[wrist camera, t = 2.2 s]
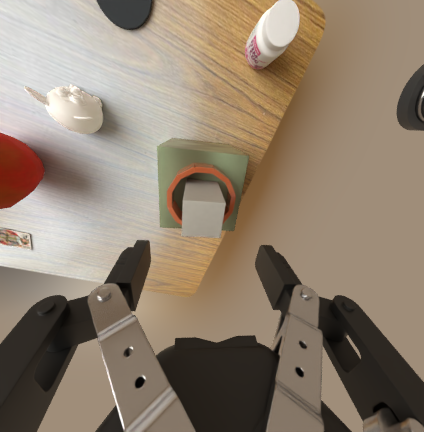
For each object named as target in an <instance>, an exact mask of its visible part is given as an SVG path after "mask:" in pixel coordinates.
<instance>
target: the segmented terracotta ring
mask: <svg viewBox="0 0 424 432" xmlns="http://www.w3.org/2000/svg"><path fill="white" fill-rule="evenodd" d="M195 172H198V173H210V174H214V175H215V176H216V177H218V178H219V179H220V180H222V181H223V182H225V184H226V187H227V189H228V192H227V199H226V206H225V212H224V218H223V223H224V222H225V221H226V220H227V219H228V217H229V216H230V215H231V214H232V213H233V210H234V205H235V199H236V194H235V192H234V189H233V187H232V184H231V182H230V180H229V178H228V176H227V175H226V174H225V173H224V172H223V171H221V170H220V169H218V168H217V167H216V166H214V165H212V164H205V163H193V164H190V165H188V166H186V167H184V168H182V169H180V170H179V171H178V172H177V173H176V175H175V177H174V178H173V180H172V181H171V183H170V185H169V187H168V189H167V208H168V210H169V212H170V213H171V215H172V216H173V218H174V220H175V221H177V223H179V224H180V225H182V211H181V210H180V208H179V207H178V205H177V203H176V202H175V200H174V189H175V187H176V186H177V184H178V183H179V181H180V180H181V179H182V178H184V177H187V176H189V175H191V174H193V173H195Z"/></svg>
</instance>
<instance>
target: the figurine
mask: <svg viewBox="0 0 424 432" xmlns="http://www.w3.org/2000/svg"><path fill="white" fill-rule="evenodd" d="M24 89H25V90H26V91H27V92H28V93H29V94H30V95H32V96H33V97H34V98H36V99H37V100H39V101H40V102H42V103H44V104H45V105H46V108H47V111H48V112H49V114H50V115H51V116H52V117H53V118H54V119H55V120H56V121H57V122H58V123H59V124H61V125H62V126H64V127H65V128H67V129H69V130H71V131H74V132H77V133H81V134H91V133H94V132H96V131H98V130H99V129H100V127H101V126H102V123H103V112H102V109H101V108H102V106H103V105H102V103H101V100H100V99H99V98H98V97H96V96H92V97H91V96H90V95H89V94H87V93H86V92H84V91H82V90H80V89H79V88H78V87H76V86H74V85H70V86H68V87H58V88H57V87H56V88H54V89H53V90H52V91H50V92H49V93H48V94H47V96H46V97H44V96H43V95H41V94H40V93H38V92H36V91H35V90H33V89H31V88H29V87H24Z"/></svg>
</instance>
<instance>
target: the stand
mask: <svg viewBox="0 0 424 432" xmlns="http://www.w3.org/2000/svg"><path fill="white" fill-rule="evenodd" d="M157 157H158V184H159V211H160V227H163V228H182V225H180V224H179V223H177V221H175V220H174V218H173V216H172V215H171V213H170V212H169V210H168V208H167V189H168V187H169V185H170V183H171V181H172V180H173V178H174V177H175V175H176V173H177V172H178V171H179V170H180V169H182V168H184V167H186V166H188V165H190V164H193V163H205V164H212V165H214V166H216V167H217V168H218V169H220V170H221V171H223V172H224V173H225V174H226V175H227V176H228V178H229V180H230V182H231V184H232V187H233V189H234V192H235V194H236V199H235V205H234V210H233V213H232V214H231V215H230V216H229V217H228V219H227V220H226V221H225V222H224V223H223V225H222V230H225V231H234V228H235V224H236V219H237V214H238V209H239V204H240V199H241V194H242V189H243V184H244V179H245V174H246V169H247V165H248V160H249V156H248V155H247V154H245V153H243V152H241V151H240V150H238V149H236V148H234V147H233V146H231V145H229V144H220V143H212V142H203V141H194V140H185V139H176V138H171V139H170V140H168V141H166V142H164V143H162V144H160V145H159V146H157ZM186 179H195V180H206V181H217V182H218V184H219V187H220V189H221V192H222V194H223V197H224V200H225V202H226V199H227V192H228V189H227V187H226V184H225V182H223V181H222V180H220V179H219V178H218V177H216V176H215V175H214V174H210V173H198V172H195V173H193V174H191V175H189V176H187V177H184V178H182V179H181V180H180V181H179V183H178V184H177V186H176V187H175V189H174V200H175V202H176V203H177V205H178V207H179V208H180V210H181V211H182V210H183V197H184V191H185V185H186Z"/></svg>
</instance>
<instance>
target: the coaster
mask: <svg viewBox="0 0 424 432" xmlns="http://www.w3.org/2000/svg"><path fill="white" fill-rule="evenodd" d="M97 2H98V4H99V6H100V8H101V9H102V11H103V12H104V14H105V15H106V16H107V17H108V18H109V19H110V20H111V21H112V22H113V23H114V24H115V25H117V26H119V27H121V28H123V29H128V30H133V29H137V28H139V27H141V26H142V25H143V24H144V23H145V22H146V20H147V19H148V17H149V14H150V11H151V7H152V0H97Z"/></svg>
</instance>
